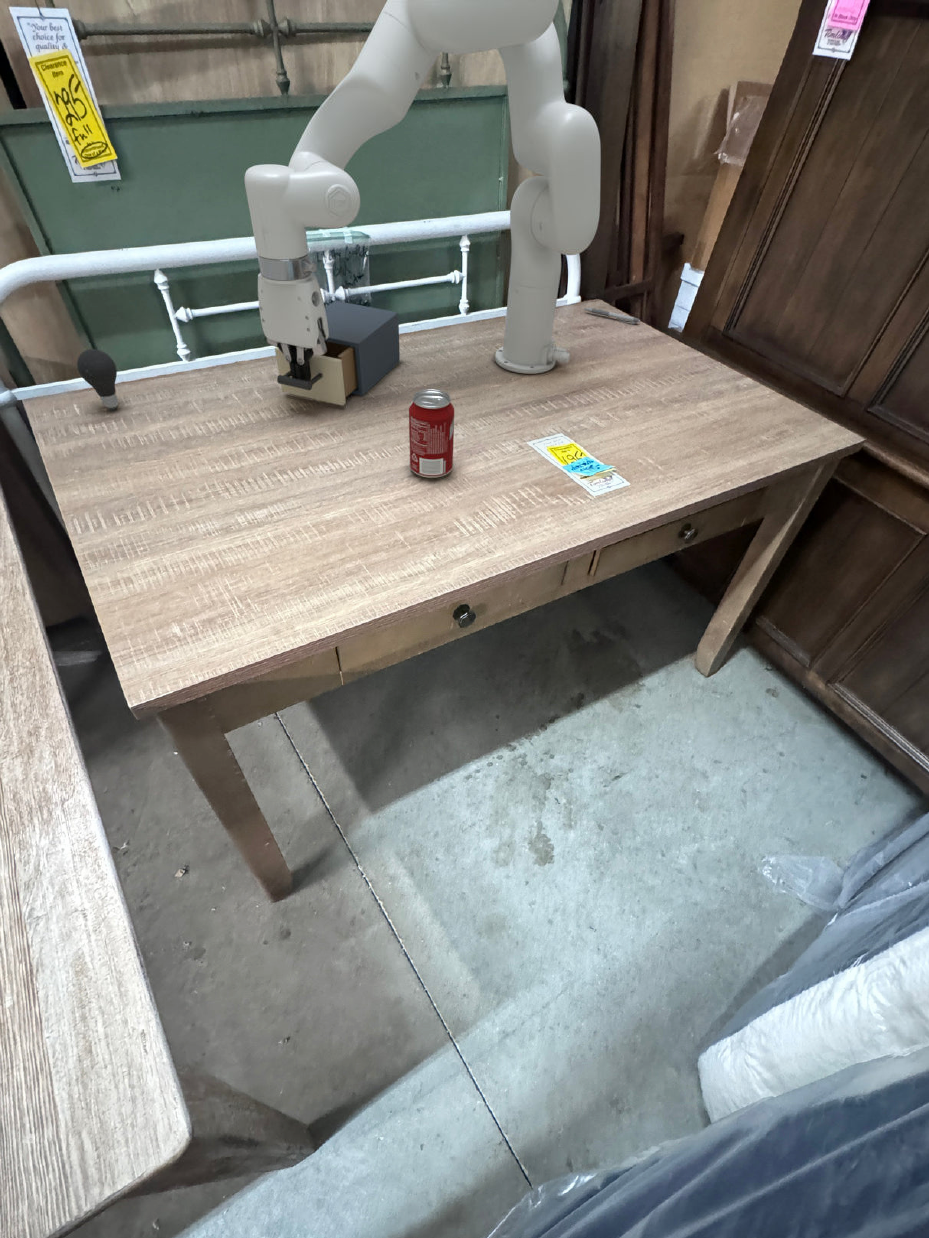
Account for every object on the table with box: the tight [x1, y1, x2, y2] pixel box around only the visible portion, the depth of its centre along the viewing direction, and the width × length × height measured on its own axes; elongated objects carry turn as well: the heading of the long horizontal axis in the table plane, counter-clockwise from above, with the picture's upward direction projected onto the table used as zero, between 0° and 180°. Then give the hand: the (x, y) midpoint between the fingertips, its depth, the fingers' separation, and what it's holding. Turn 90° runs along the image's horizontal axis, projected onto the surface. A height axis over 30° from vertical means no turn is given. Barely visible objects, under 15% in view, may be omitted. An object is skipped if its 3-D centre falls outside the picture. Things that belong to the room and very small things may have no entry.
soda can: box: [408, 388, 455, 479], centre depth 93 cm, size 7×7×12 cm
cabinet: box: [324, 300, 401, 397], centre depth 117 cm, size 17×14×10 cm
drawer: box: [274, 341, 358, 406], centre depth 111 cm, size 21×12×8 cm, turn 160°
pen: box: [584, 307, 641, 325], centre depth 146 cm, size 1×14×1 cm, turn 63°
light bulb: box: [76, 348, 120, 410], centre depth 103 cm, size 6×6×10 cm
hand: (302, 383), depth 106 cm, fingers closed
